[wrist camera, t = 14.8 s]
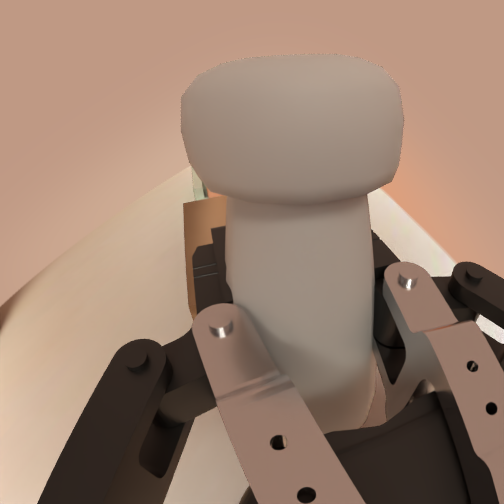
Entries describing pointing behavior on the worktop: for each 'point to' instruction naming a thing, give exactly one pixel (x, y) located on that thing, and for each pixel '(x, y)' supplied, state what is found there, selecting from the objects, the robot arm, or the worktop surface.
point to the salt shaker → (301, 209)
